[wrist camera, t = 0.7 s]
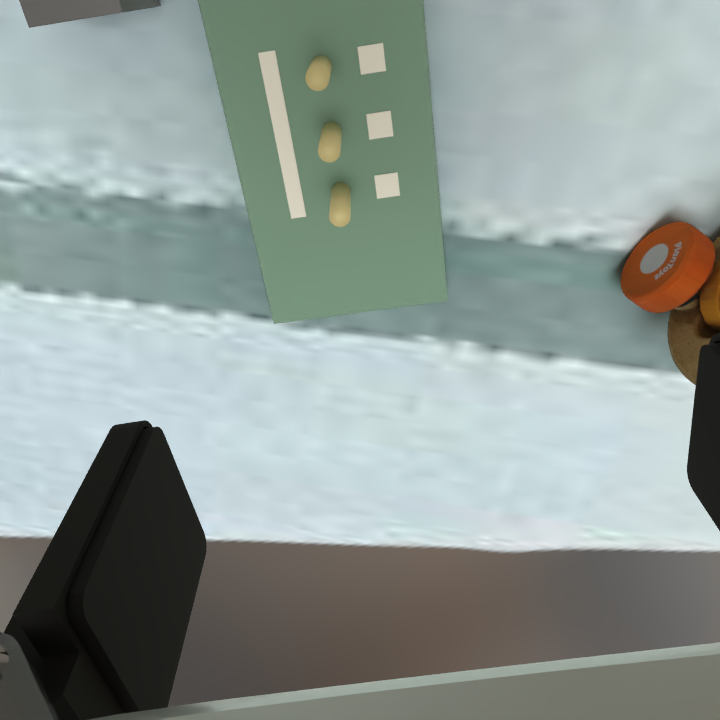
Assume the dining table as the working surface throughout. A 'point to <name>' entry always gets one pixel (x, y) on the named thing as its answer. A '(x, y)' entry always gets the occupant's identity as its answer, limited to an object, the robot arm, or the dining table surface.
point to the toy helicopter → (678, 287)
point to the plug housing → (77, 9)
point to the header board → (333, 150)
